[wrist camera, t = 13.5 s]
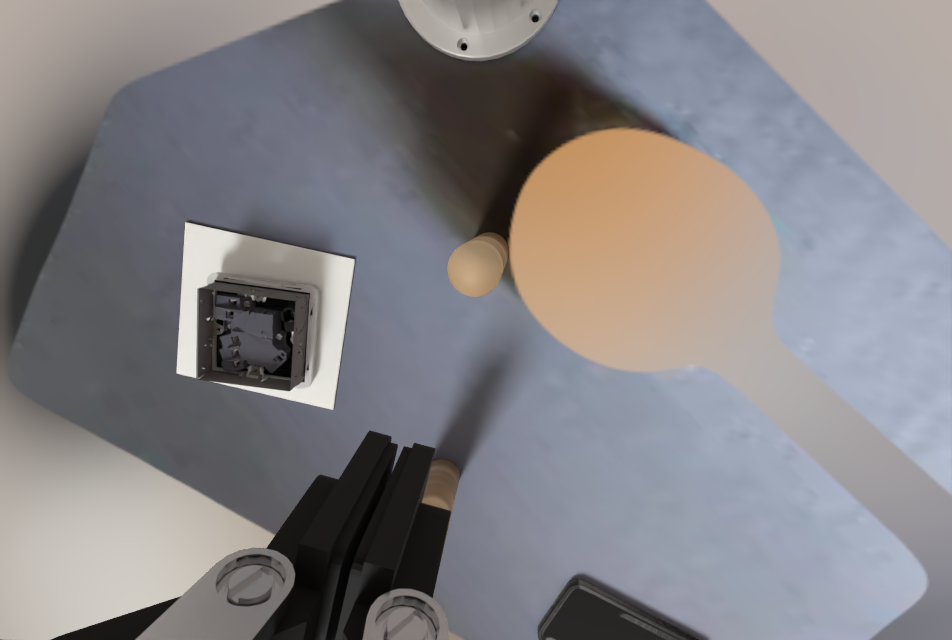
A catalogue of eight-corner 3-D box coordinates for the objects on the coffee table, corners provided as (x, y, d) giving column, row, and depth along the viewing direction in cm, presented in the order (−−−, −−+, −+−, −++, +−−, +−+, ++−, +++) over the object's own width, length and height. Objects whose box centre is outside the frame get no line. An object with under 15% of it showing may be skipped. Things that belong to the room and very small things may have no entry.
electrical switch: (324, 285, 42) (226, 268, 44) (290, 293, 37) (182, 274, 39) (317, 387, 44) (224, 368, 46) (284, 408, 39) (182, 386, 41)
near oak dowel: (473, 228, 40) (452, 237, 29) (512, 236, 40) (506, 247, 28) (467, 267, 41) (443, 290, 29) (504, 274, 41) (496, 301, 29)
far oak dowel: (428, 455, 45) (396, 542, 34) (462, 463, 45) (442, 553, 33) (422, 485, 46) (389, 580, 34) (456, 493, 46) (433, 591, 34)
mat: (186, 222, 42) (185, 222, 42) (355, 259, 42) (354, 259, 41) (177, 372, 46) (176, 373, 45) (333, 409, 45) (332, 409, 45)
